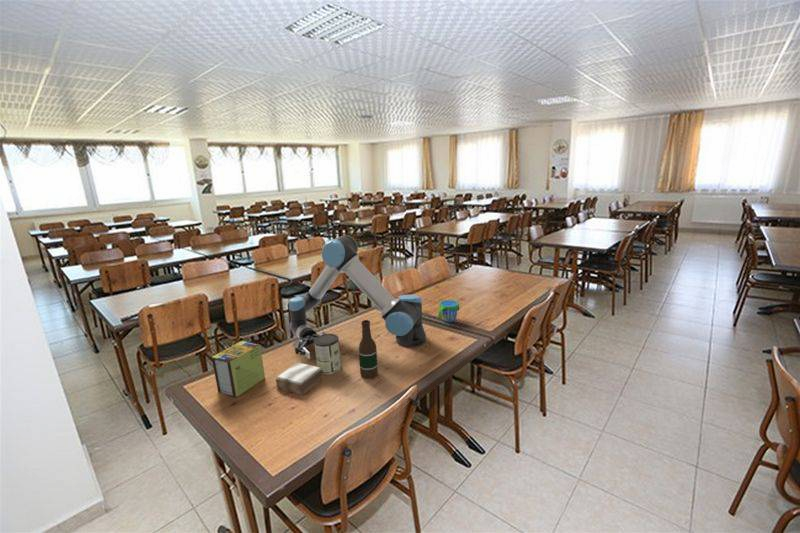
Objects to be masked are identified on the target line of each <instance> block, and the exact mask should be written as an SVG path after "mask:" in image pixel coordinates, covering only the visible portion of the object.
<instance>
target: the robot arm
mask: <svg viewBox="0 0 800 533" xmlns="http://www.w3.org/2000/svg"><path fill="white" fill-rule="evenodd" d="M358 253H359V244H358V242H357V240H356V238H354V237H352V236H350V235H340V236H339V237H336V238H333V239H330V240H328V241H327V242H326V243H325V244H324V245H323V246H322V249H321V259H322V261H323V263H324V264H325V266H324V269H323V270H322V271H321V273H320V274H319V275H318V277H317V279H316V280H315V282H314V283H313V284H312V286H311V287H310V289H309V290H308V292H307V293H306V295H304V296H295V297H294V296H293V297H291V298H290V299H289V300H288V305H289V306H288V310H289V316H290V323H289V329H290V331H291V333H292V334H293V335H295V336H296V337H297V339H296V341H295V342H296V343H295V347H294V352H295V355H298V354H300V355H301V356H305V357H306V358H307V359H311V353H310V351H309V350H307V348H308V347H310V345H312V344H313V345H314V344H315V343H314V339H315V338H316V337H318V336H320V335H323V334H328V333H326V332H324V331H322V332H321V334H318V333H317V332H316V330H315V329H314V328H312V327H311V326H310V325H309V324H308V321H307V319H308V318H307V313H308V312H310V311H311V310H312V309H314V308H316V307H317V306H319V304H321V302H322V298H323V297H324V296H325V294H326V293H327V291H328V290H329V288H330V287H331V286H332V284H333V283H334V281H335V280H336V279H337V277H338V276H339V274H341V273H343V274H346V276H347V277H348V278H349V279H350V280H351V281H352V282H353V283H354V284H355V285H356V286H357V287H358V289H359V290H360V291H361V292H362V293H363V294H364V295H365V296H366V297H367V298H368V299H369V300H370V302H372V304H373V305H374V306H375V307H376V308H377V309H378V310H379V311H380V317H381V318H382V319H383V320H384V324H385V325H384V326H385V328H386V330H387V331H388V332H389V333H390V334H391V335H394V336H395V341H396V343H397V344H398V345H399V346H403V347H407V348H409V347H418V346H421V345H423V344H425V343H426V342H427V334H426V331H425V328H424V326H423V305H422V304H423V302H422V297H421V296H419V295H417V294H402V295H399V296H397V298H395V297H394V296H393V295H392V294H391V293H390V291H388V289H386V288H385V287H384V285H383V284H382V283H381V281H379V280H378V278H376V277H375V276H374V274H373V273H372V272H371V271H369V269H368V268H367V267H366V266H365V265H364V264H363V263H362V262H361V260H360V259H359V258H360V256H359V254H358Z"/></svg>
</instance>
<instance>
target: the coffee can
mask: <svg viewBox="0 0 800 533" xmlns="http://www.w3.org/2000/svg"><path fill="white" fill-rule="evenodd" d="M319 335H320V336H318V337H316V338H315V339H314V343H313V344H314V349H315V357H316V358H315V359H316V365H317V366H316V367H319V368H321V369H322V370H323V375H332V374H335V373H337V372H339V371H340V370H341V368H342V363H341V362H342V361H341V352H340V343H339V336H338V335H337V334H336V333H335V334H334V333H327V334H323V335H321V334H319Z"/></svg>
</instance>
